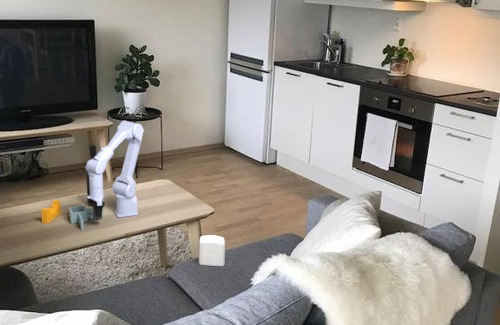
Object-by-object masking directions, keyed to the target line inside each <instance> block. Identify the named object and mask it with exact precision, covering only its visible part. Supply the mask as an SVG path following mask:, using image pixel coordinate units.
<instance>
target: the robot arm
mask: <svg viewBox="0 0 500 325" xmlns="http://www.w3.org/2000/svg"><path fill="white" fill-rule="evenodd" d="M144 129H145V128H143V125H142V124H140V123H137V122H132V121H127V120H122V121H121V122H120V124H119V125H118V126H117V131H116V133H115V134H114V135H113V137H112V138H111V139H110V141H109V143H108V144H107V145H105V146H102V147H100V149H99V151H98V153H97V152H96V156H95V157H94V158H93V159H91V160H90V159H89V160H87V162H86V166H84V167H85V171H86V170H87V171H88V175H89V186H90V195H89V196H87V195H86V198H88V199H89V200H90V201H91V204H92V206H93V208H94V211H95V215H96V217H101V214H102V209H103V210H104V207H105V204H106V203H105V201H104V197H105V195H104V177H103V176H104V175H103V173H104V172H105V171H106V167H107V164H108V162H109V161H110V160H111V159H112V157H113V156H114V154H115V153H114V151H115V149H117V148H118V146H119V145H120V144H122V142H123V141H124V140H125V139H126V140H127V141H128V145H127V149H126V152H125V157H124V160H123V164H122V169H121V173H120V175H118V176H117V177H116V178H115V181H114V183H113V184H112V192H113V193H114V196H115V197H116V198H115V199H116V200H115V203H116V205H115V206H116V209H114V213H115V215H116V217H117V218H124V217H133V216H138V215H139V213H138V197H137V195H136V192H137V191H136V185H137V182H136V181H135V179H134V173H135V169H136V166H137V165H136V164H137V162H138V161H137V160H138V156H139V153H140V149H141V144H142V140H143V135H144V133H145V130H144ZM92 206H91V207H92Z"/></svg>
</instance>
